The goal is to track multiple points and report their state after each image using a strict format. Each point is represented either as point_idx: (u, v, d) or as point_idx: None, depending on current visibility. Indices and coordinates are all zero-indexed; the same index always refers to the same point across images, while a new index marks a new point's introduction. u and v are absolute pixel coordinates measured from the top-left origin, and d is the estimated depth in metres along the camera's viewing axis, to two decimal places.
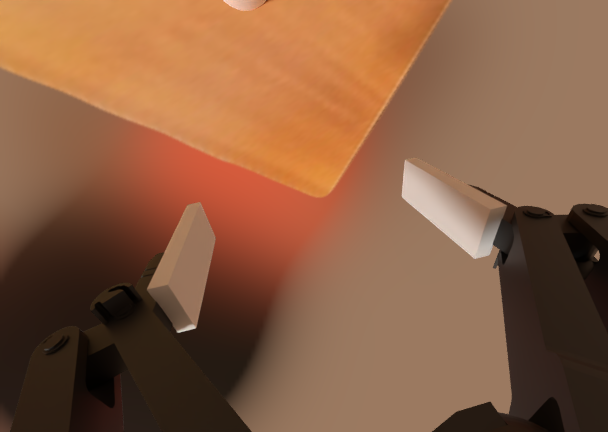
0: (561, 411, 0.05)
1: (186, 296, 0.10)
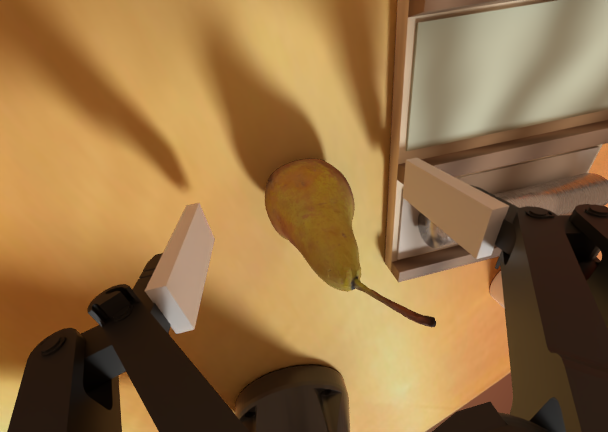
0: (562, 411, 0.05)
1: (184, 297, 0.10)
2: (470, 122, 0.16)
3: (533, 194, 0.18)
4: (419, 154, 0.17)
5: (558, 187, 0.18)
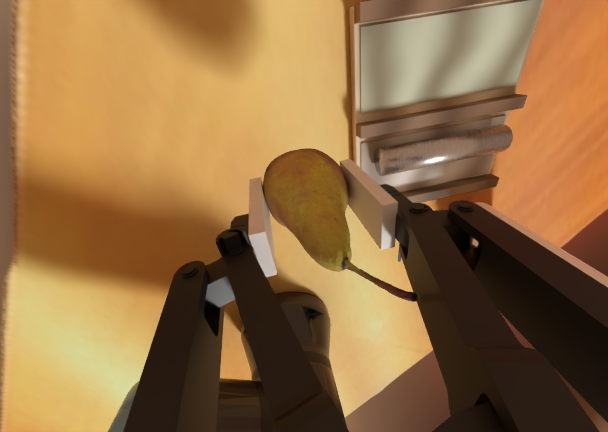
0: (496, 409, 0.05)
1: (270, 247, 0.12)
2: (404, 94, 0.24)
3: None
4: (370, 117, 0.25)
5: (465, 131, 0.26)
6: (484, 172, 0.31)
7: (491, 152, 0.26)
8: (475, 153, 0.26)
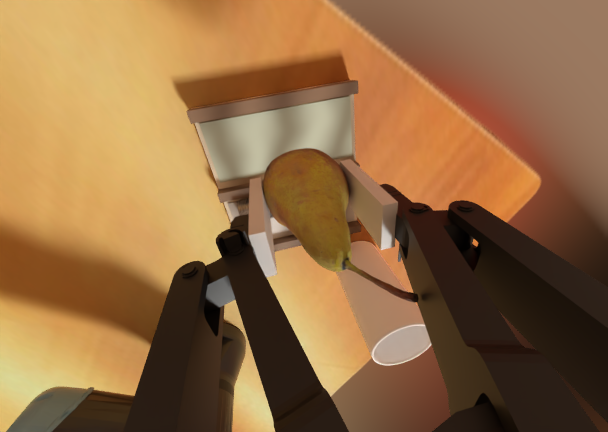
0: (496, 409, 0.05)
1: (270, 247, 0.12)
2: (254, 167, 0.29)
3: None
4: (230, 183, 0.30)
5: None
6: (350, 219, 0.36)
7: None
8: None
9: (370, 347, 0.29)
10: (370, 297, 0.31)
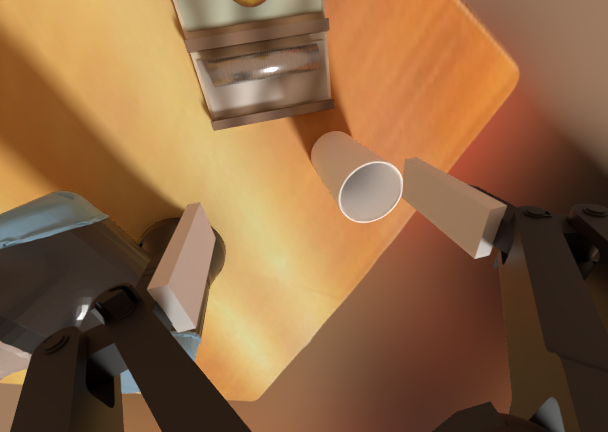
0: (561, 411, 0.05)
1: (186, 296, 0.10)
2: (220, 14, 0.29)
3: None
4: (198, 35, 0.30)
5: None
6: (324, 96, 0.36)
7: (307, 66, 0.31)
8: (290, 65, 0.31)
9: (337, 194, 0.29)
10: (340, 155, 0.31)
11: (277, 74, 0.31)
